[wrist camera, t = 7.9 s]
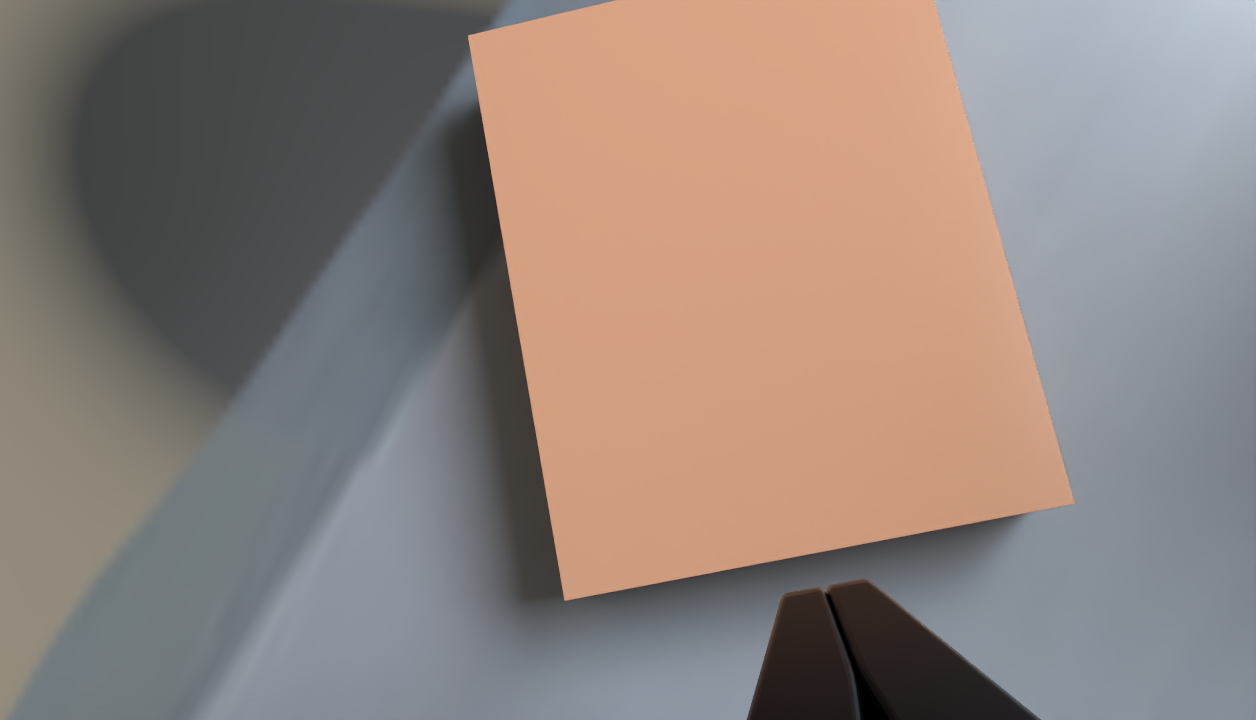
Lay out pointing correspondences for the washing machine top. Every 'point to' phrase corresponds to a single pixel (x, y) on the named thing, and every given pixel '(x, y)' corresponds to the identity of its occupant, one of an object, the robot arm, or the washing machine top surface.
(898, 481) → the block
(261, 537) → the washing machine top surface
